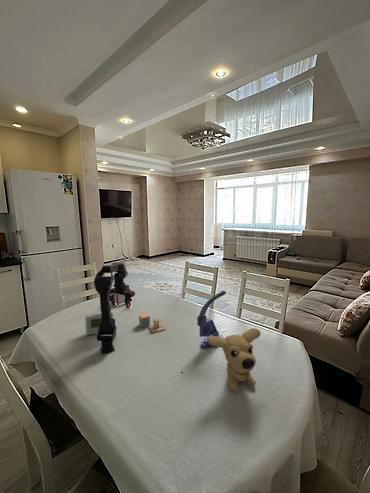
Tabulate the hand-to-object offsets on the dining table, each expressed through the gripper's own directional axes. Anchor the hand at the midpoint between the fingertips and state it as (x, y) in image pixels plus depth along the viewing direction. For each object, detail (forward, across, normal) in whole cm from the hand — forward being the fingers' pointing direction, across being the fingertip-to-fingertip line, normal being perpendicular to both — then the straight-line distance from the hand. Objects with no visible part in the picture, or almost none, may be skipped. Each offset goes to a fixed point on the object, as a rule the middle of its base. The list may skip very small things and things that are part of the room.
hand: (120, 306), depth 147 cm
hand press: (+14, -59, +3) cm, 61 cm away
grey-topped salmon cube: (+13, -14, -5) cm, 20 cm away
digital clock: (+14, +9, +10) cm, 19 cm away
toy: (+14, -74, +29) cm, 81 cm away
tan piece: (+13, -23, -3) cm, 27 cm away
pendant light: (+14, +22, -34) cm, 43 cm away
